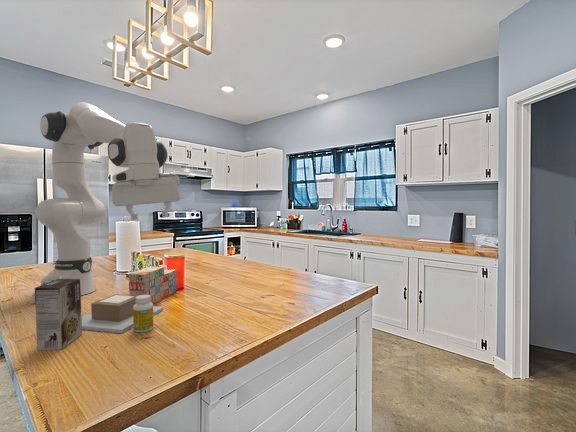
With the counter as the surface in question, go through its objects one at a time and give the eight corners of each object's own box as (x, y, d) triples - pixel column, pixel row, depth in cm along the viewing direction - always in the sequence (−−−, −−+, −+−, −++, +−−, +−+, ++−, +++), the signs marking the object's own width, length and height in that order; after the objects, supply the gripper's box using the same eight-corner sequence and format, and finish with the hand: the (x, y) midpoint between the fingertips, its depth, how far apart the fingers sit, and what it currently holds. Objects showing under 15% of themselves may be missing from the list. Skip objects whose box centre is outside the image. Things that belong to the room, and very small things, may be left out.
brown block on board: (63, 327, 93) (63, 306, 93) (114, 305, 112) (113, 288, 112) (122, 333, 89) (121, 311, 89) (163, 309, 108) (163, 292, 108)
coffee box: (58, 335, 87) (57, 278, 87) (82, 334, 88) (81, 278, 87) (35, 350, 78) (33, 287, 78) (62, 349, 79) (60, 286, 78)
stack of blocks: (164, 290, 133) (163, 261, 132) (177, 291, 131) (177, 262, 131) (129, 306, 112) (128, 272, 111) (144, 308, 110) (144, 273, 110)
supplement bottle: (138, 334, 88) (137, 300, 88) (130, 329, 92) (129, 296, 91) (156, 328, 92) (156, 296, 92) (148, 323, 96) (148, 292, 95)
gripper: (181, 172, 102) (185, 214, 103) (116, 177, 100) (121, 220, 101) (176, 171, 96) (181, 216, 97) (106, 176, 94) (112, 222, 95)
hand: (150, 218), depth 99 cm, fingers open, 8 cm apart
